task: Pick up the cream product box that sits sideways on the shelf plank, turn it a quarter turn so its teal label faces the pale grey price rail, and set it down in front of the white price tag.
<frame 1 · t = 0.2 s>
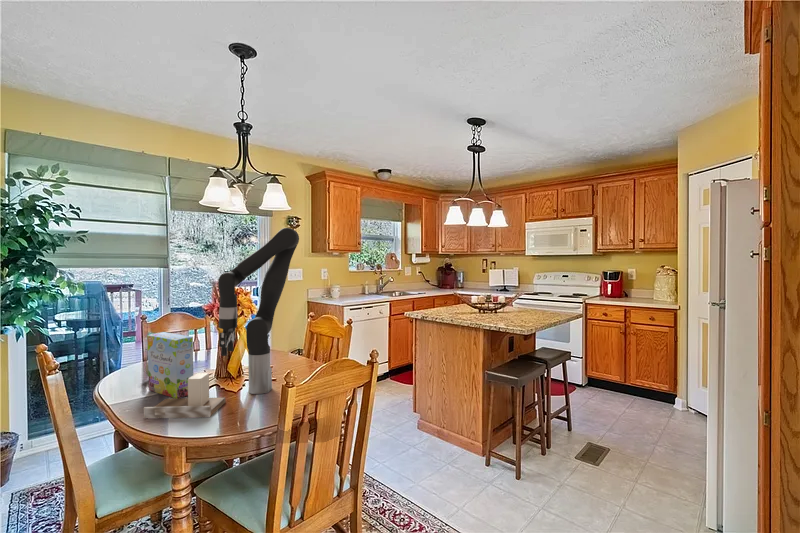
hand: (227, 353, 172), 18 cm above the table, tool pointing down, fingers open, 8 cm apart
snack box: (170, 393, 172), on the table
shelf plank: (187, 409, 153), on the table
product box: (192, 403, 154), point 2 cm above the table, touching shelf plank
fruit: (159, 379, 191), on the table
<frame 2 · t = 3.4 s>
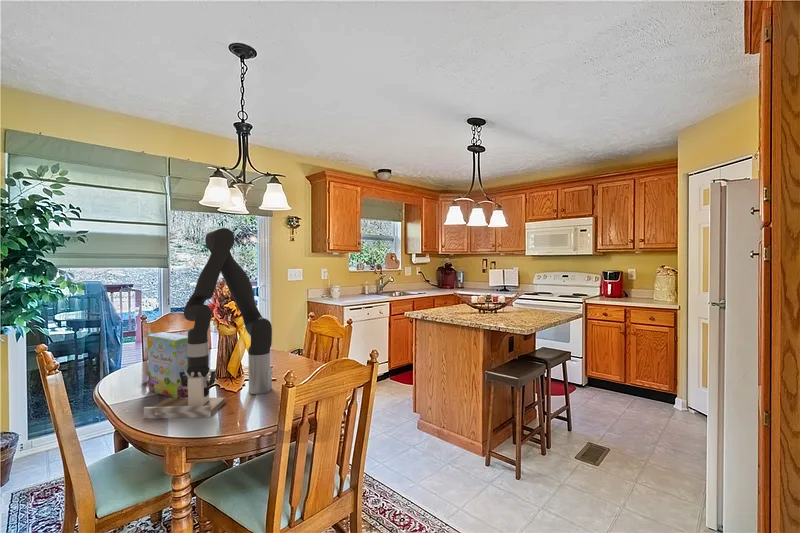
hand: (198, 396, 154), 5 cm above the table, tool pointing down, fingers closed on product box, 5 cm apart
product box: (192, 403, 154), point 2 cm above the table, touching gripper, shelf plank
everything else where it was.
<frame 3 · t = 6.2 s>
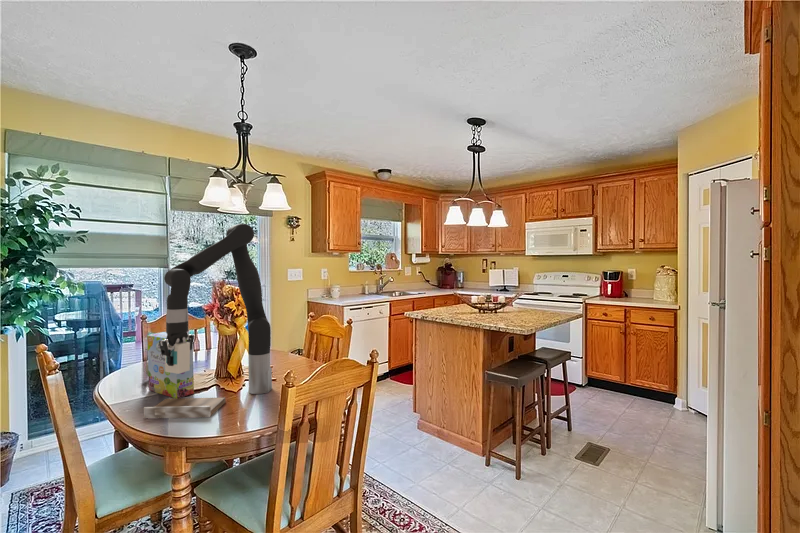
hand: (177, 363, 150), 19 cm above the table, tool pointing down, fingers closed on product box, 5 cm apart
product box: (171, 372, 148), point 16 cm above the table, touching gripper
everything else where it was.
when the fingers open (6 cm above the table, at t = 9.5 s): product box stays where it is, resting on shelf plank.
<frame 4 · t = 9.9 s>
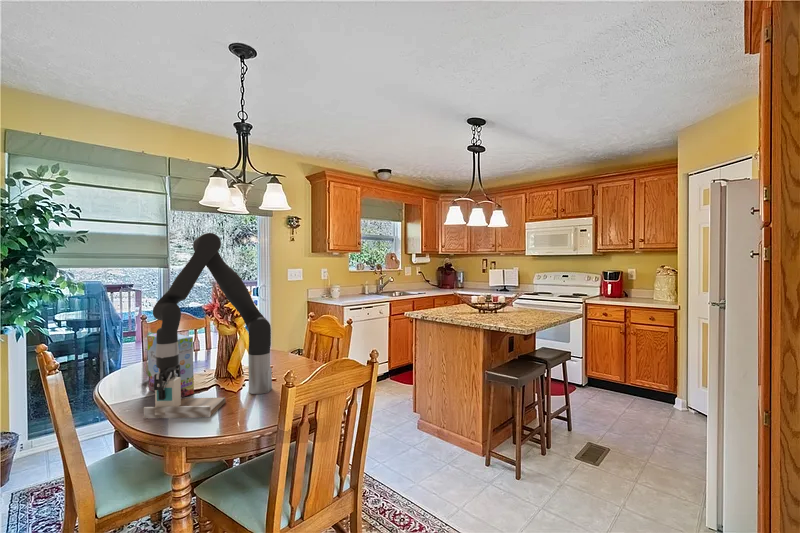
hand: (168, 395, 150), 7 cm above the table, tool pointing down, fingers open, 8 cm apart
product box: (164, 409, 148), point 2 cm above the table, touching shelf plank
everything else where it was.
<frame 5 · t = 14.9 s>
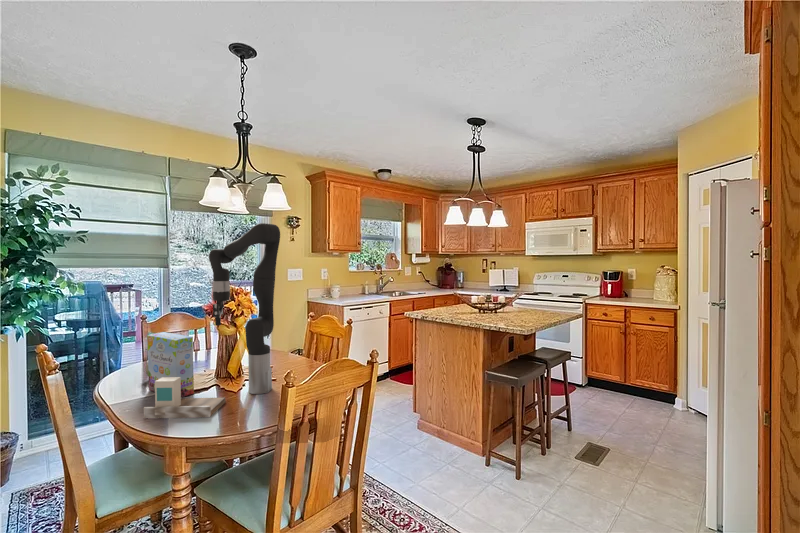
hand: (221, 323, 186), 28 cm above the table, tool pointing down, fingers open, 8 cm apart
nothing on the table moved.
at the end: product box 0.0 cm from the target spot, point 2.0 cm above the table; product box tilted 0°; the gripper is holding nothing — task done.
